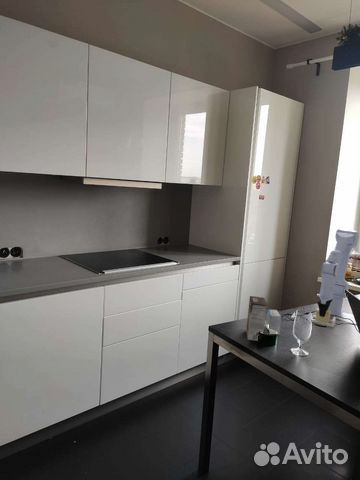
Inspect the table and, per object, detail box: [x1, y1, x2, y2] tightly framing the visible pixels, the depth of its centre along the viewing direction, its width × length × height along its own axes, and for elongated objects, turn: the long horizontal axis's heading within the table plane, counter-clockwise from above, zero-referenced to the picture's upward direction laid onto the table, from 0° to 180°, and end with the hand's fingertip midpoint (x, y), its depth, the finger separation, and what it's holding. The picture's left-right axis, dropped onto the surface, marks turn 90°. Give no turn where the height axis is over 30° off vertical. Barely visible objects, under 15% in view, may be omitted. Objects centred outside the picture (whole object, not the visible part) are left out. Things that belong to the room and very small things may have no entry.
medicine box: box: [265, 309, 282, 336], centre depth 158 cm, size 8×4×9 cm, turn 179°
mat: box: [290, 311, 313, 319], centre depth 178 cm, size 9×9×1 cm
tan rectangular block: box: [315, 307, 331, 323], centre depth 173 cm, size 3×6×6 cm, turn 60°
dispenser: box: [310, 314, 337, 328], centre depth 173 cm, size 7×11×3 cm, turn 60°
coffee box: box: [245, 295, 268, 342], centre depth 151 cm, size 9×6×16 cm
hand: (323, 314), depth 173 cm, fingers open, 7 cm apart
